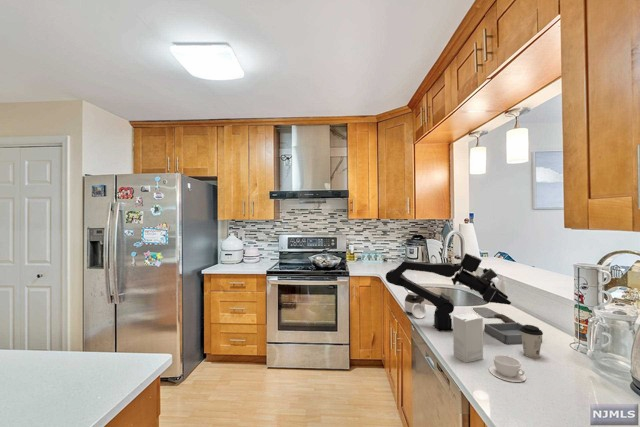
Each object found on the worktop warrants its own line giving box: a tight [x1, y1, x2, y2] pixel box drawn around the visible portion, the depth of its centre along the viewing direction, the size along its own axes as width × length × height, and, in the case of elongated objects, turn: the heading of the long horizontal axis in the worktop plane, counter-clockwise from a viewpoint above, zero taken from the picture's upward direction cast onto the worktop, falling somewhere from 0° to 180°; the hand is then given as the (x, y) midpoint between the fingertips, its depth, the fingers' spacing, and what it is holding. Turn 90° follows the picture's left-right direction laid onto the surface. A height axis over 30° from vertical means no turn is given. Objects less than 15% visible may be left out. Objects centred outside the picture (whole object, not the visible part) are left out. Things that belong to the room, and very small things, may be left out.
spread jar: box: [404, 289, 427, 319], centre depth 151 cm, size 12×11×12 cm
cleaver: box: [472, 306, 517, 323], centre depth 148 cm, size 29×10×2 cm, turn 2°
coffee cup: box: [520, 324, 544, 359], centre depth 107 cm, size 7×7×10 cm
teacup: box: [488, 354, 527, 383], centre depth 94 cm, size 10×10×5 cm
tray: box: [484, 321, 543, 345], centre depth 123 cm, size 16×13×4 cm
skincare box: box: [452, 312, 484, 363], centre depth 105 cm, size 8×6×15 cm
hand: (509, 300), depth 121 cm, fingers open, 9 cm apart
